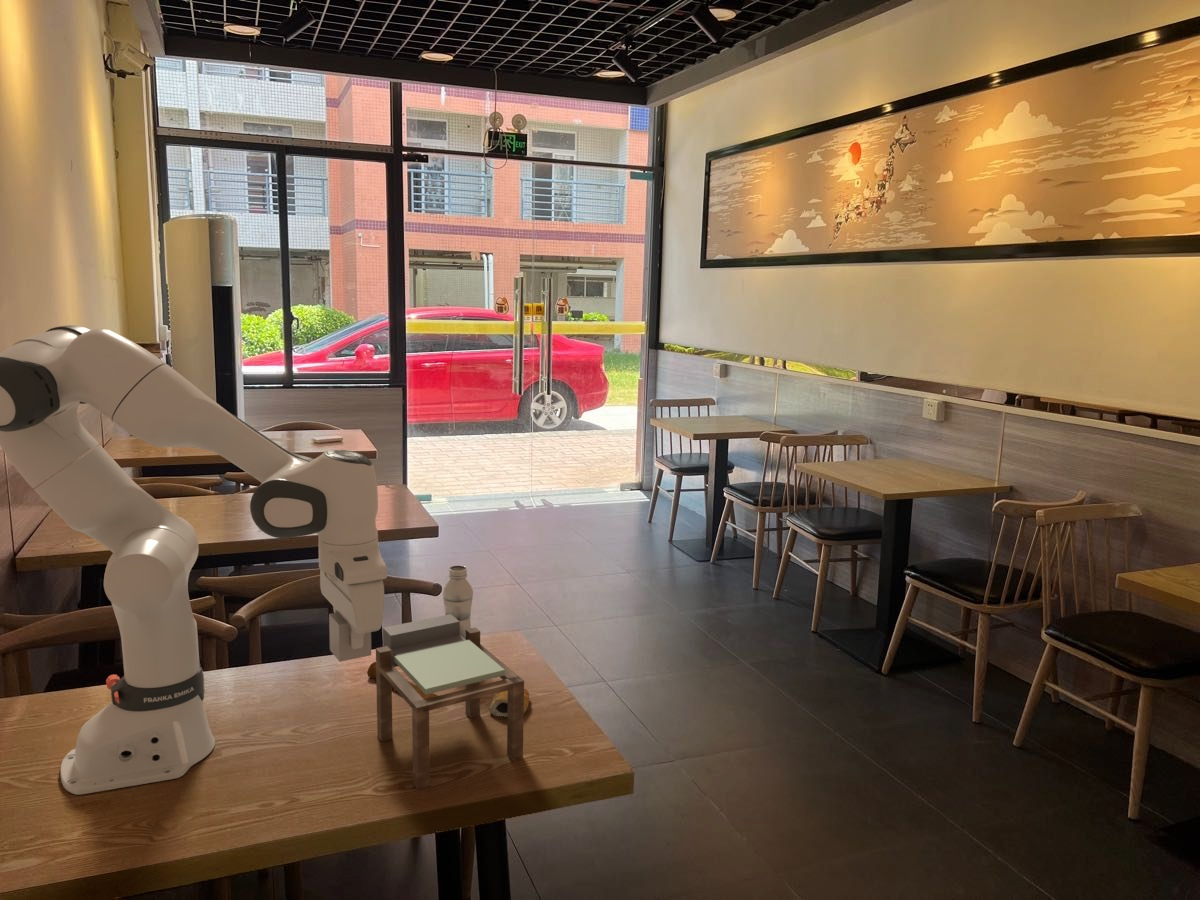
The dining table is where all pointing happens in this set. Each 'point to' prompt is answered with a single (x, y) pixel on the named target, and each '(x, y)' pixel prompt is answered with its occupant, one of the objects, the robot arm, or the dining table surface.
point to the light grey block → (345, 639)
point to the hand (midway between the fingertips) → (349, 639)
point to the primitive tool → (372, 674)
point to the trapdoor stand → (421, 707)
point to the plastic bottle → (458, 597)
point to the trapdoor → (438, 654)
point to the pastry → (505, 703)
